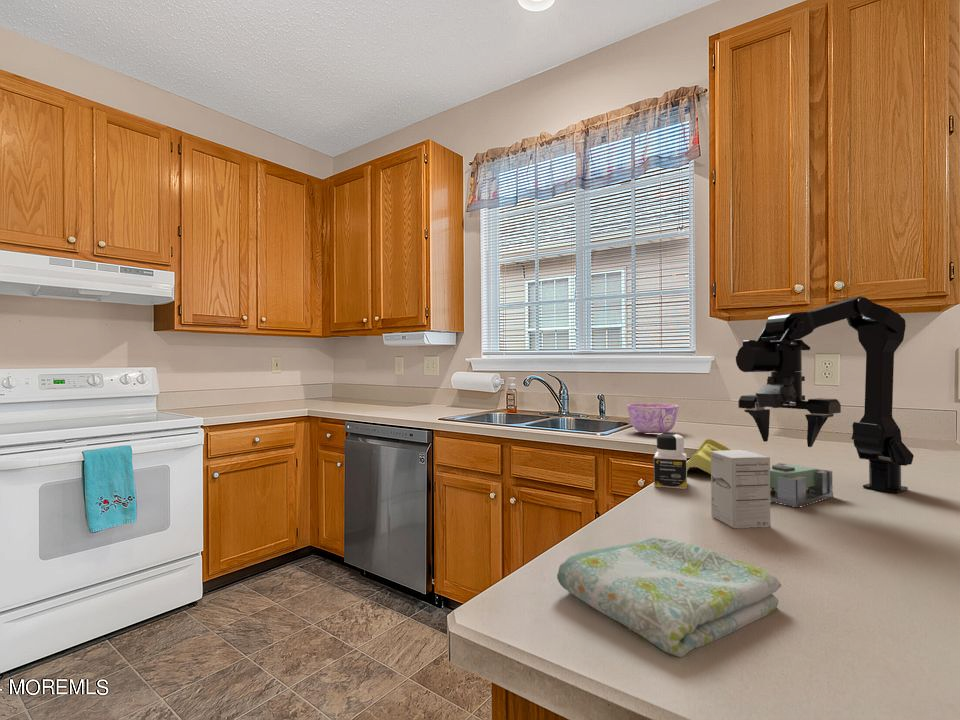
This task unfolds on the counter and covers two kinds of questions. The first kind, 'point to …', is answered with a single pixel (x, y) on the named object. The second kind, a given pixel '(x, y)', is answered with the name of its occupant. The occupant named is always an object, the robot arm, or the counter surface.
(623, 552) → the towel
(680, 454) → the medicine bottle
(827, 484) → the chassis
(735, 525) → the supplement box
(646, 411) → the purple round bowl
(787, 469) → the green block
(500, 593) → the counter surface
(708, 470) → the plastic component
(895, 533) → the counter surface
